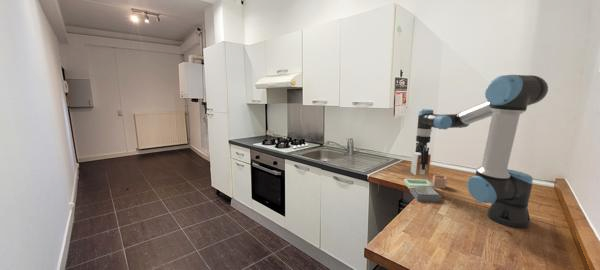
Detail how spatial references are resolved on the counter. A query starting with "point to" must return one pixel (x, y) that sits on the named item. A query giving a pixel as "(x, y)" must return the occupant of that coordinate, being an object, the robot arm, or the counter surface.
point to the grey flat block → (424, 196)
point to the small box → (416, 163)
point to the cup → (439, 181)
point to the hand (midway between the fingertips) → (419, 172)
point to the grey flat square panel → (425, 190)
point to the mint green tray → (417, 183)
